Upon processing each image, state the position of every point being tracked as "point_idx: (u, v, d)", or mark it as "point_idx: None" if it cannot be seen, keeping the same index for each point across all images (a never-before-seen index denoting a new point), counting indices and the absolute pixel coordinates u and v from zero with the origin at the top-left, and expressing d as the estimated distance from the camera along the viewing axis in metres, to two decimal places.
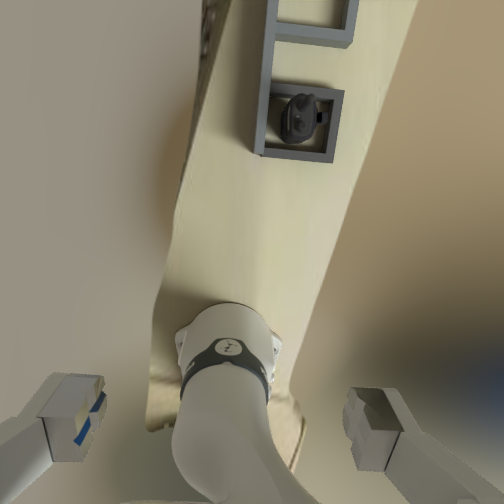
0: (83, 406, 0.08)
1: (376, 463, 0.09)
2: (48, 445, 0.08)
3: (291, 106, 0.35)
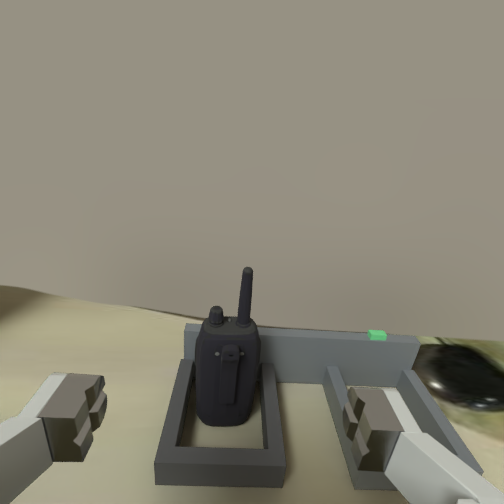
0: (83, 406, 0.08)
1: (376, 463, 0.09)
2: (48, 445, 0.08)
3: None
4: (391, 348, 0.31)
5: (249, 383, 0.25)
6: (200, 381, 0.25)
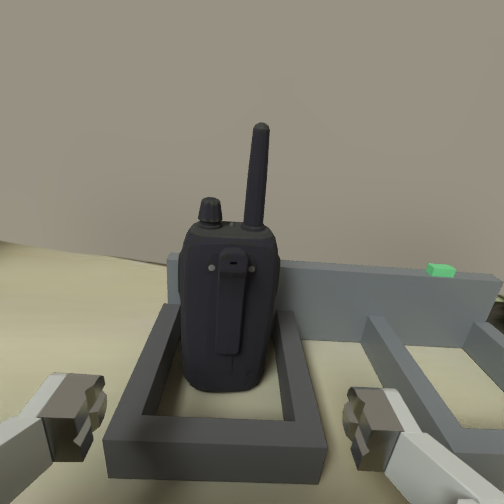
0: (83, 406, 0.08)
1: (376, 463, 0.09)
2: (48, 445, 0.08)
3: None
4: (461, 289, 0.22)
5: (262, 324, 0.17)
6: (187, 319, 0.16)
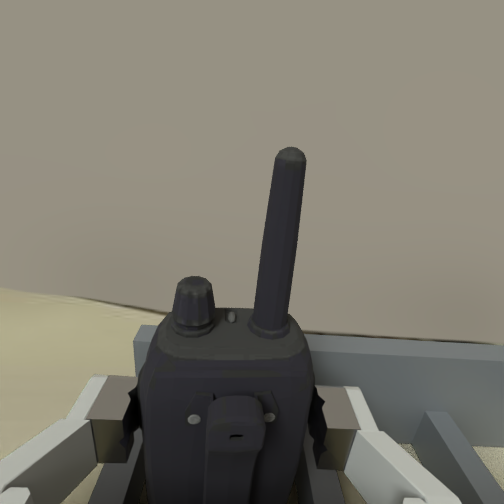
0: (128, 408, 0.09)
1: (335, 462, 0.09)
2: (94, 447, 0.08)
3: None
4: None
5: (284, 484, 0.10)
6: (153, 484, 0.09)
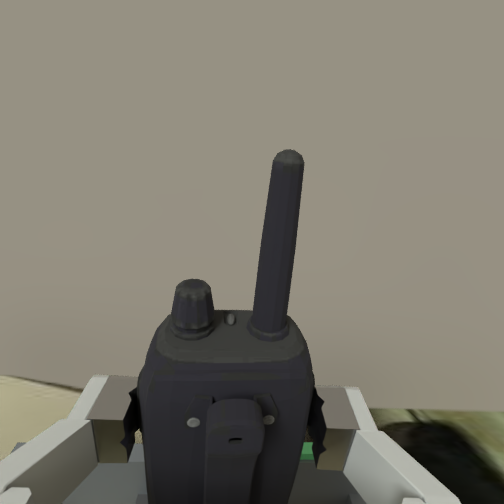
0: (129, 408, 0.09)
1: (334, 462, 0.09)
2: (95, 447, 0.08)
3: None
4: (329, 470, 0.21)
5: (284, 487, 0.10)
6: (153, 487, 0.09)
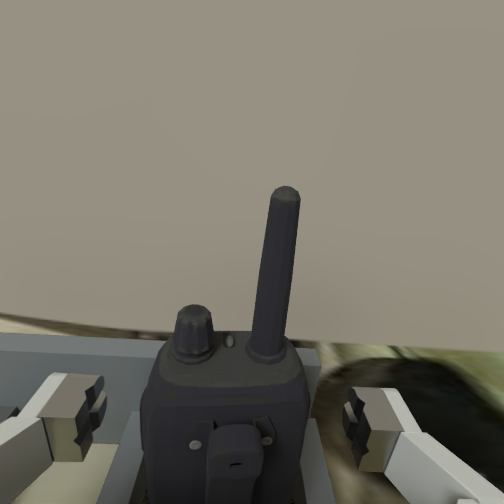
0: (83, 406, 0.08)
1: (376, 463, 0.09)
2: (48, 445, 0.08)
3: None
4: None
5: (281, 501, 0.10)
6: None
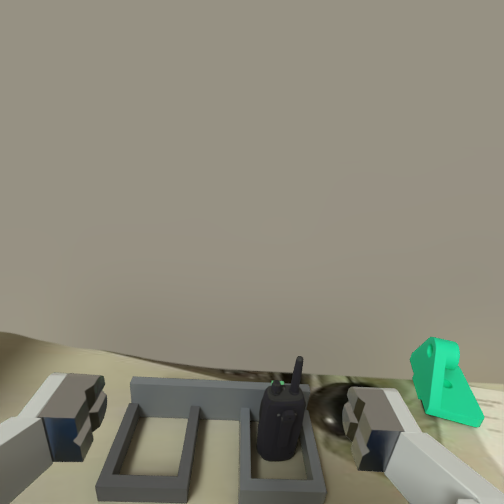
0: (83, 406, 0.08)
1: (376, 463, 0.09)
2: (48, 445, 0.08)
3: (290, 385, 0.37)
4: None
5: (298, 432, 0.36)
6: (264, 431, 0.36)
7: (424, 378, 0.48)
